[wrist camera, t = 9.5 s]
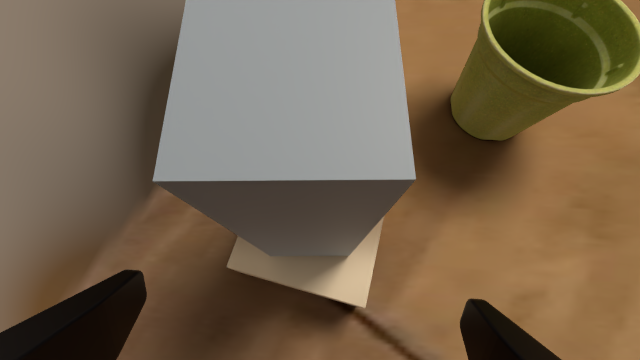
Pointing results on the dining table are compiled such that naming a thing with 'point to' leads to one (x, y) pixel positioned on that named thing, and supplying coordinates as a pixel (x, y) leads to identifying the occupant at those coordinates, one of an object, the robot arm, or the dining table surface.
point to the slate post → (288, 121)
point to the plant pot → (543, 62)
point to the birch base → (314, 269)
